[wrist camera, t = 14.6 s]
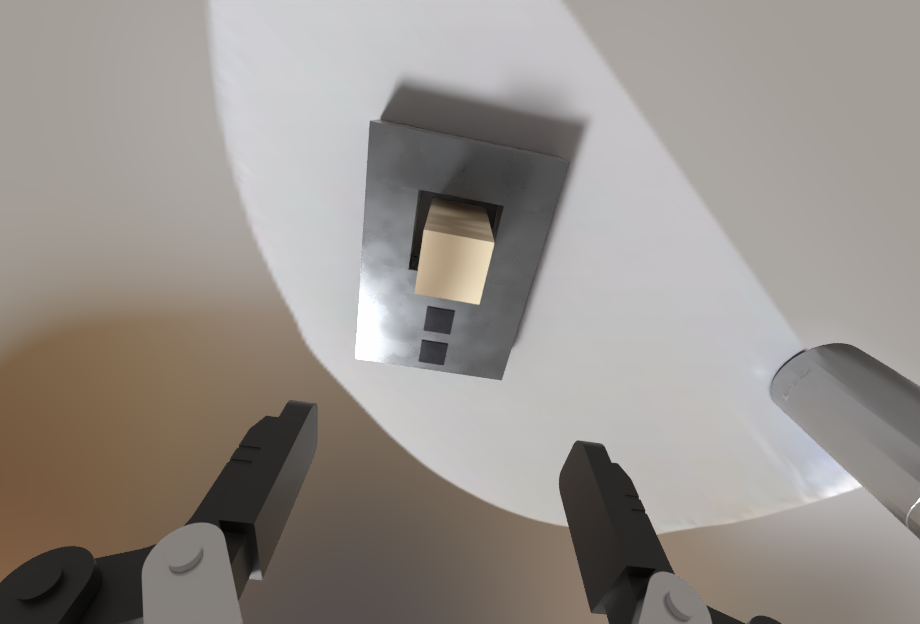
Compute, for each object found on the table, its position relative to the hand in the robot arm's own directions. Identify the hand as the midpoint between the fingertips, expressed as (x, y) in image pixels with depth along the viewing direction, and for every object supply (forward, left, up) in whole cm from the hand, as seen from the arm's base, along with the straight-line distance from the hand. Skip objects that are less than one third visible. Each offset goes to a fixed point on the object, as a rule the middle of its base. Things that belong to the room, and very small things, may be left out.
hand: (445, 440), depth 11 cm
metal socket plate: (0, +3, -23) cm, 23 cm away
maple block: (0, 0, -23) cm, 23 cm away
